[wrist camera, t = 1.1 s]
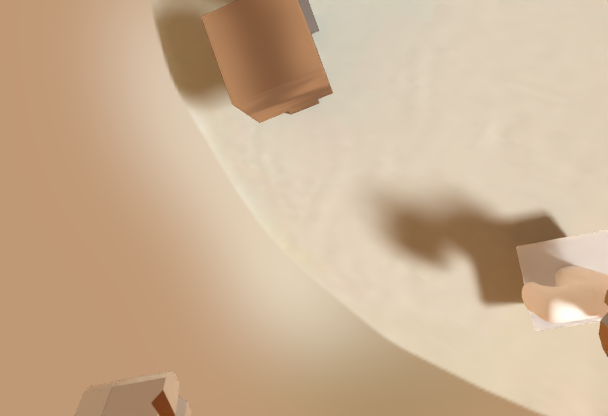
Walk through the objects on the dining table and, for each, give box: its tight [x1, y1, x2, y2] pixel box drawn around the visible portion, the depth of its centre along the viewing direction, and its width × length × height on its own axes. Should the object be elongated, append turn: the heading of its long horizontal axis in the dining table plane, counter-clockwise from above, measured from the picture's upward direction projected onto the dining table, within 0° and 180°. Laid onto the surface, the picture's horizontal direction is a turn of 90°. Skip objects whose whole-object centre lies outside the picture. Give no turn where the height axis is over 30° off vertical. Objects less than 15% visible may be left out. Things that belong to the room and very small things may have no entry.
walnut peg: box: [201, 0, 333, 123], centre depth 38 cm, size 6×6×15 cm
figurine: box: [516, 229, 608, 332], centre depth 35 cm, size 7×9×15 cm
